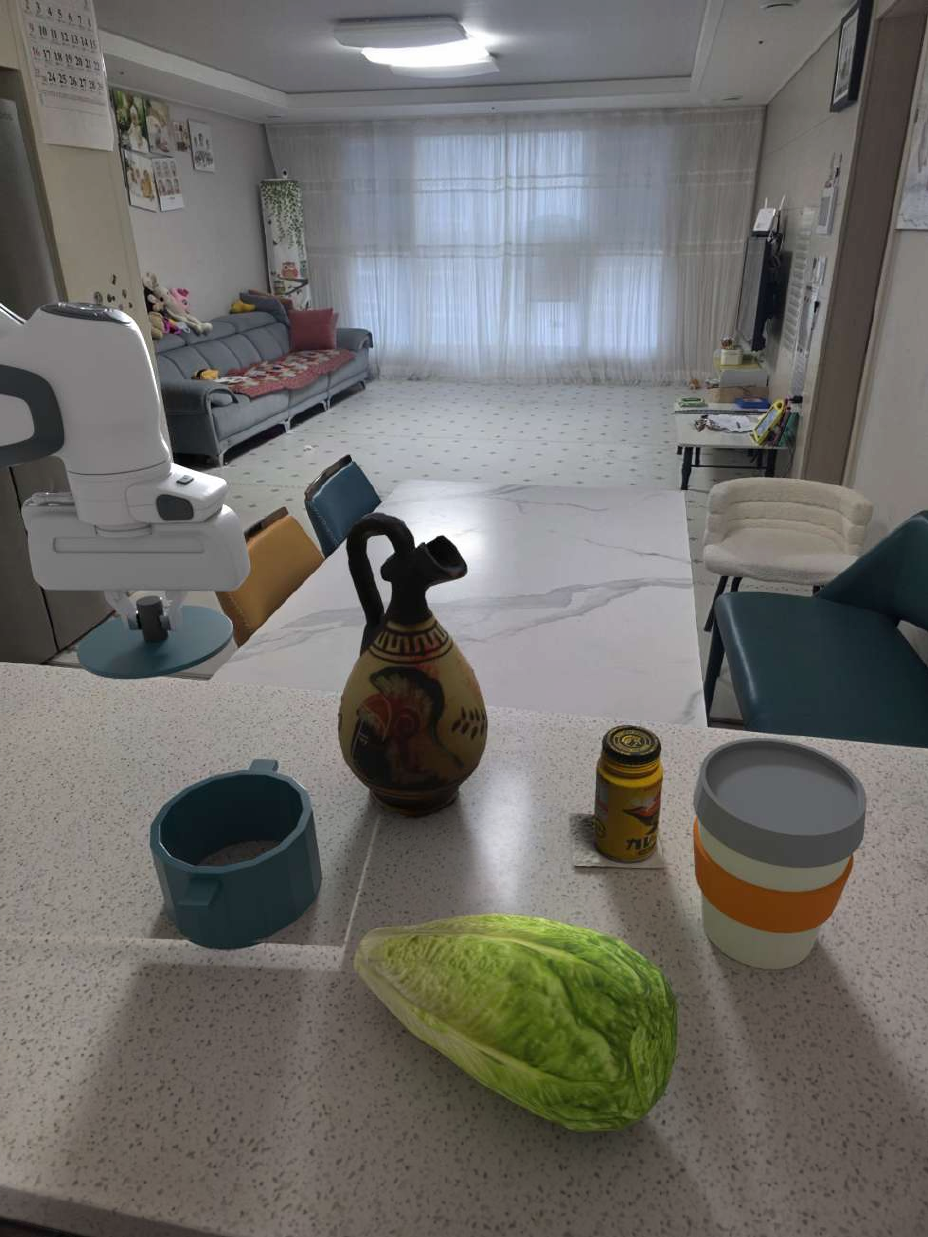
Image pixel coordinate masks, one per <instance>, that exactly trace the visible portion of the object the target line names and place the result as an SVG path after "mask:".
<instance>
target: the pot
mask: <svg viewBox="0 0 928 1237" xmlns="http://www.w3.org/2000/svg"><path fill="white" fill-rule="evenodd" d="M278 769H279V761H278V759H277V758H253V759H252V762H251V763H250V766H249V767H248V769H239V770H234V771H229V772H225V773H219V774H215V775H211V776H208V777H206V778H204V779H201V780H200V781H198V782H195V783H193V784H191V785H189V786H186V787H185V788H183V789H182V790H180V791H179V792H178V793H177V794H176V795H175V796H173V797H172V798H170V800H168V801H167V802H166V803H164V804H163V805H162V807H161V808H160V809H159V811H158V813H157V814H156V816H155V817H154V819H153V820H152V821H151V824H150V825H149V826H150V828H149V830H150V831H149V848H150V851H151V855H152V859H153V860H152V861H153V863H154V867H155V871H156V875H157V878H158V883H159V886H160V891H161V894H162V898H163V901H164V906H165V909H166V913H167V917H168V918H169V919H170V920H171V922H172V924H173V926H175V928H176V929H177V931H178V932H179V934H181V935H182V936H184V937H187V939H186V941H188V942H189V943H190V942H191V943H192V944H194V945H196V946H199V947H202V948H206V949H211V950H238V949H246V948H250V947H254V946H257V945H260V944H262V941H261V942H256V941H259V940H263V939H267V938H269V937H271V936H272V935H275V934H277V933H278V932H280V931H282V930H283V929H285V928H287V927H288V926H290V925H292V924H294V923H295V922H296V921H298V920H299V918H301V916H302V915H303V914H304V913H305V912H306V910H307V909H308V908H310V906H311V905H312V904H313V903H314V902H315V901H316V899H317V896H318V893H319V889H320V887H321V883H322V880H323V872H322V866H321V859H320V851H319V844H318V838H317V831H316V824H315V816H314V810H313V805H312V801H311V797H310V793H309V791H308V789H306V788H305V787H304V786H303V785H302V784H301V783H300V782H299V781H297V780H296V779H295V778H294V777H292V776H289V775H287V774H284V773H280V772H277V771H278ZM253 841H259V842H260V841H261V842H278V843H280V844H278V845H277V846H275V847H273V848H272V849H269V850H267V851H266V852H264V853H262V854H260V855H259V856H257V857H254V858H253V859H249V860H245V861H239V862H236V863H231V864H228V865H222V866H211V865H210V866H207V865H206V866H205V865H199V864H200V863H202V862H203V861H204V860H205V859H206V858H208V857H210V856H212V855H214V854H216V853H218V852H220V851H222V850H224V849H225V848H227V847H230V846H235V845H240V844H243V843H249V842H253ZM188 938H189V939H188Z"/></svg>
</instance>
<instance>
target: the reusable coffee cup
mask: <svg viewBox="0 0 928 1237" xmlns="http://www.w3.org/2000/svg"><path fill="white" fill-rule="evenodd" d="M692 798H693V799H692V800H693V801H692V804H693V805H692V806H693V809H694V813H695V815H696V817H695V818H694V819H695V820H694V822H693V827H692V828H693V829H692V830H693V831H692V834H693V835H692V836H693V837H692V838H693V859H694V860H693V861H694V862H693V863H694V876H695V880H696V883H697V885H698V888H699V890H700V900H701V902H700V903H701V921H702V926H703V928H704V929H703V930H704V931H705V933H706V935H707V937H708V938H709V940H710V941H711V942H712V943H713V945H714V946H716V947H717V949H718V950H720V951H721V952H722V953H724V955H726V956H727V957H728V958H730V959H733V960H735V961H737V962H738V963H741V964H743V965H747V966H749V967H752V968H757V969H763V970H782V969H788V968H791V967H793V966H794V967H795V966H797V965H798V964H800V963H802V962H803V961H804V960H805V959H806V958H807V957H808V956H809V955H810V953H811V951H812V949H813V947H814V945H815V942H816V940H817V937H818V935H819V933H820V931H821V928H822V926H823V924H824V923H826V922H827V921H828V920H829V918H831V917H832V916H833V914H834V913H835V912H834V911H835V909H836V908H837V905H838V904H839V901H840V898H841V896H842V894H843V891H844V889H845V887H846V884H847V882H848V880H849V877H850V875H851V873H852V870H853V866H854V853H856V851H858V849H859V848H860V846H861V844H862V842H863V840H864V834H865V827H866V814H867V813H866V812H867V799H868V798H867V794H866V790H865V788H864V786H863V784H862V782H861V781H860V779H859V778H858V777H857V775H856V774H855V773H854V772H853V771H852V770H851V769H850V768H849V767H847V766H846V765H845V764H843V763H842V762H841V761H840V760H838V759H837V758H835V757H833V756H831V755H829V754H828V753H825V752H823V751H821V750H820V749H819V750H818V749H817V748H815V747H811V746H808V745H805V744H803V743H799V742H795V741H790V740H786V739H777V738H770V737H752V738H741V739H736V740H732V741H729V742H726V743H724V744H721V745H718V746H717V747H715V748H714V749H713V750H711V751H709V752H708V753H707V755H706V756H705V757H704V758H703V760H702V763H701V765H700V767H699V772H698V776H697V779H696V783H695V787H694V792H693V797H692Z"/></svg>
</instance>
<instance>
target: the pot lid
mask: <svg viewBox="0 0 928 1237" xmlns="http://www.w3.org/2000/svg"><path fill="white" fill-rule="evenodd" d="M170 606H171V605H167V606H166V605H165V606H164V603H163V599H162V597H161V596H159V595H146V596H143V597H140V598H138V599H137V600H136V601H135V607H137V611H138V616H139V620H140V625H141V630H125V628H124V624H123V620H122V616H121V615H120V616H118V617H117V618H113V619H111V620H109V621H107V622H105V623H103V624H101V625H99V626H98V627H96V628H95V629H93V630H91V631H90V632H89V633H87V635H85V636H84V637H83V638H82V639H81V641H80V642H79V644H78V646H77V649H76V657H77V661H78V664H79V665H80V666H81V668H82V669H83V670H84V671H87V672H89V673H90V674H91V675H95V676H98V677H101V678H104V679H112V680H144V679H145V680H146V679H152V678H159V677H163V676H169V675H172V674H176V673H179V672H183V671H185V670H190V669H191V668H194V667H197V666H199V665H201V664H203V663H205V662H208V661H209V660H211V659H213V658H214V657H216V656H217V655H218V654H220V653H221V652H223V651H224V650H225V649H226V648H227V647H228V645H229V644H230V643H231V641H232V640H233V637H234V626H233V622H232V620H231V619H230V618H229V616H227V615H226V614H224V613H223V612H221V611H219V610H217V609H214V608H210V607H206V606H198V605H184V604H183V606H182V608H181V613H182V619H183V625H182V626H181V628H180V629H179V630H162V627H161V625H162V623H161V622H160V618H159V615H160V614H161V613H162V612H164V610H165V609H166V608H170Z"/></svg>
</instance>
